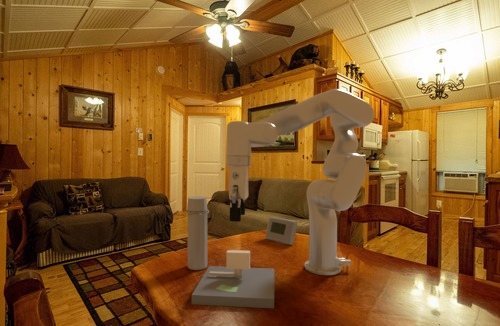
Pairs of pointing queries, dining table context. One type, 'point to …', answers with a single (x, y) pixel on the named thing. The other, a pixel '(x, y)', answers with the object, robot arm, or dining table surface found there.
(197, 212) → the water bottle
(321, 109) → the robot arm
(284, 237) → the digital clock
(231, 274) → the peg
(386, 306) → the dining table surface
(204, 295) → the grey square board
